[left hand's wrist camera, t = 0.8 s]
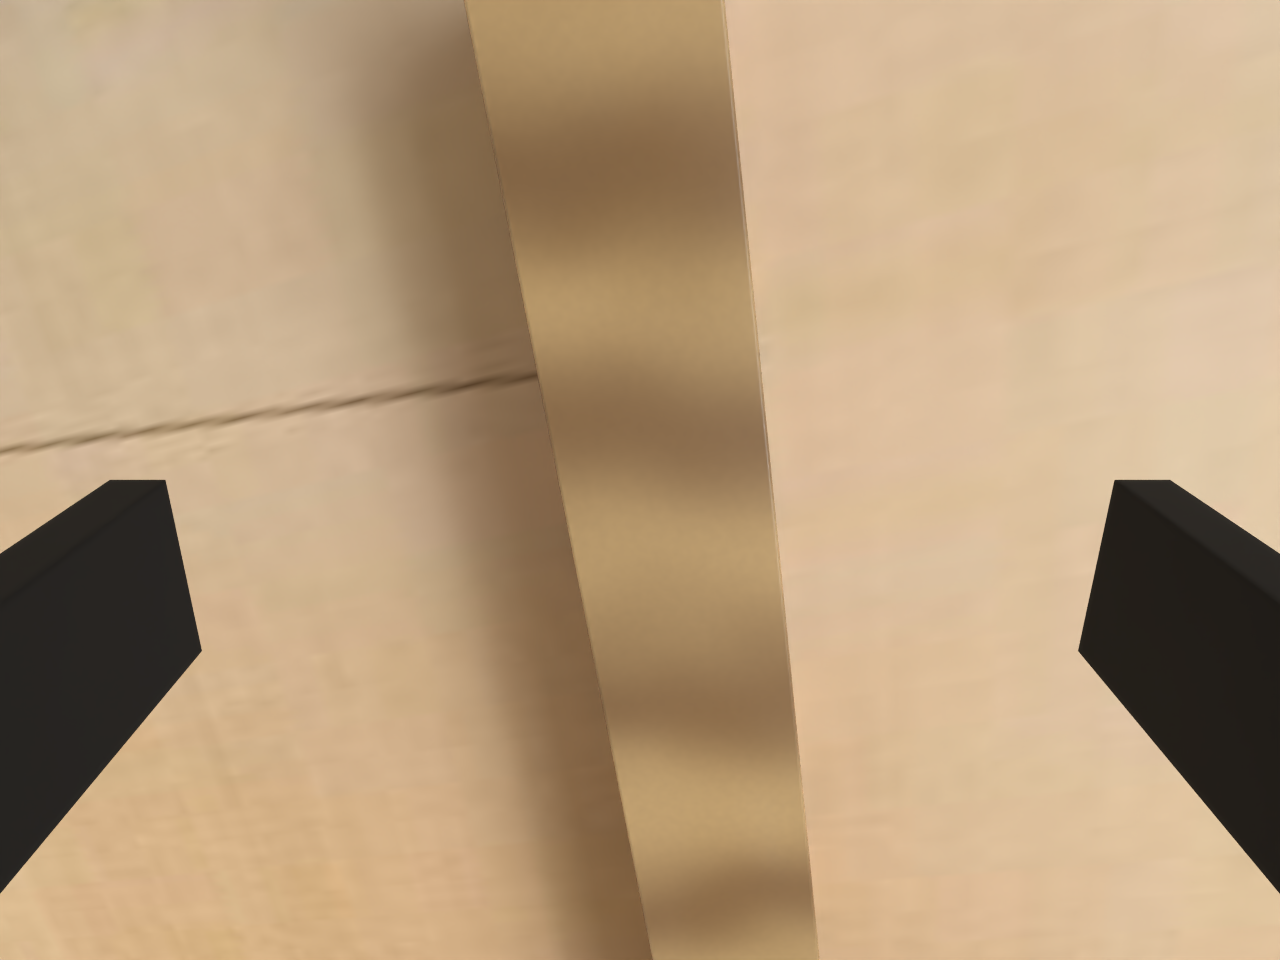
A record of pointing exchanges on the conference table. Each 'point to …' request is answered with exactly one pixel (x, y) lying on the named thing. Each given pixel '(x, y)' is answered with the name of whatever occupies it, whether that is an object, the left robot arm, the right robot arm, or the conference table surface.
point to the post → (659, 445)
